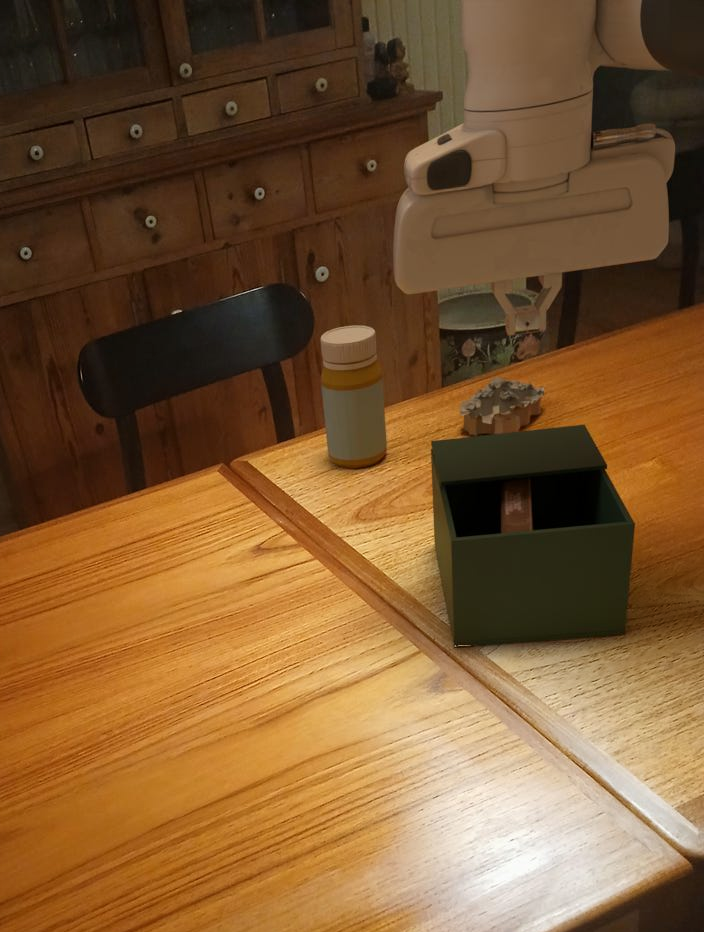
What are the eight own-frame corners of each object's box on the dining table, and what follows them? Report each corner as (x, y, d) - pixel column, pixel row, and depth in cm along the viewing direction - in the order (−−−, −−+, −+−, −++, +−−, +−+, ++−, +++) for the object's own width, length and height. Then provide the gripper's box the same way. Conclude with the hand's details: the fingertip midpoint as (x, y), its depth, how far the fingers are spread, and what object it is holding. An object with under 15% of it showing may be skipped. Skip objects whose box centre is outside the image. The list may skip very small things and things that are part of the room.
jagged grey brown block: (510, 443, 116) (511, 410, 113) (453, 434, 120) (452, 402, 118) (550, 408, 122) (551, 376, 120) (495, 401, 126) (495, 370, 124)
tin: (538, 627, 84) (540, 541, 79) (500, 627, 85) (500, 542, 80) (534, 540, 96) (536, 461, 91) (500, 541, 97) (501, 462, 92)
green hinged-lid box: (454, 647, 84) (451, 540, 78) (434, 545, 99) (430, 448, 93) (625, 634, 82) (635, 523, 76) (579, 531, 97) (584, 432, 91)
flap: (440, 486, 86) (440, 482, 85) (431, 444, 93) (431, 440, 93) (607, 469, 83) (607, 465, 83) (584, 428, 91) (584, 424, 90)
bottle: (324, 451, 122) (311, 331, 113) (379, 441, 122) (371, 320, 113) (334, 474, 116) (322, 349, 108) (393, 463, 116) (385, 337, 108)
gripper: (664, 112, 72) (650, 301, 80) (384, 159, 76) (396, 336, 83) (691, 125, 67) (673, 325, 75) (389, 174, 70) (401, 361, 78)
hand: (525, 331), depth 79 cm, fingers closed
